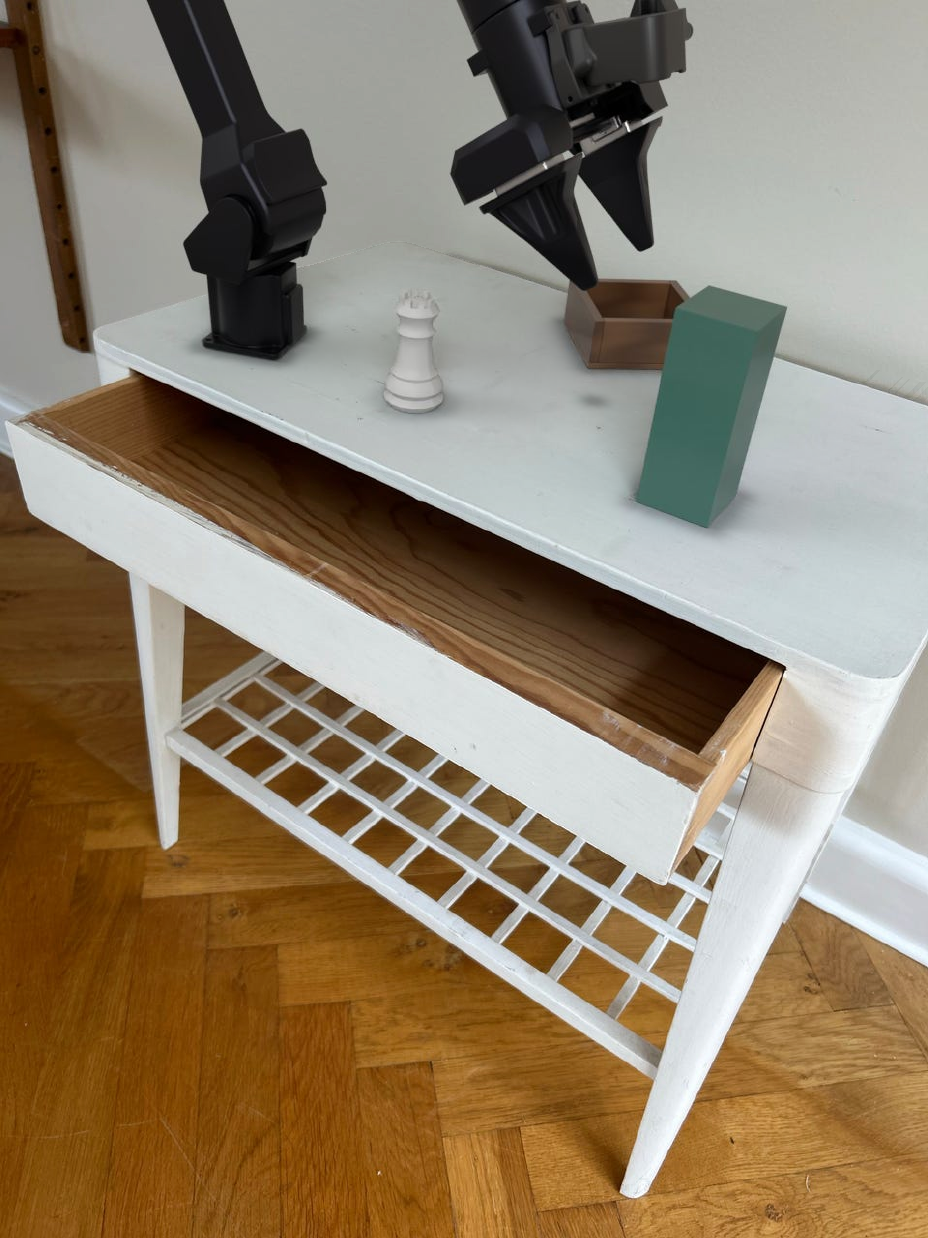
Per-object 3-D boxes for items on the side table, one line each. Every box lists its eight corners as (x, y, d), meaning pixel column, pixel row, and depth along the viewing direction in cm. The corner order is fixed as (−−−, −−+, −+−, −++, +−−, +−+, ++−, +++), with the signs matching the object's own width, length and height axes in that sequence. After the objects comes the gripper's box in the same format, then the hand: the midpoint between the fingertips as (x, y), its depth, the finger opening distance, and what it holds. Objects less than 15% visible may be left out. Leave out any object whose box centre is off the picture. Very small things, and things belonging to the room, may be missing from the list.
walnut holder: (587, 368, 82) (595, 320, 79) (563, 322, 89) (569, 277, 87) (700, 369, 83) (711, 323, 81) (667, 324, 91) (676, 279, 88)
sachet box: (635, 501, 66) (675, 307, 58) (667, 471, 69) (708, 284, 61) (706, 528, 64) (757, 331, 56) (735, 496, 67) (787, 306, 59)
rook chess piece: (455, 403, 75) (462, 298, 70) (413, 421, 72) (417, 313, 68) (413, 383, 77) (417, 279, 72) (370, 399, 75) (372, 293, 70)
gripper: (561, -65, 47) (685, 256, 52) (693, -75, 60) (782, 181, 65) (391, 58, 54) (514, 330, 59) (543, 24, 67) (633, 249, 72)
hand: (620, 267), depth 63 cm, fingers open, 9 cm apart
